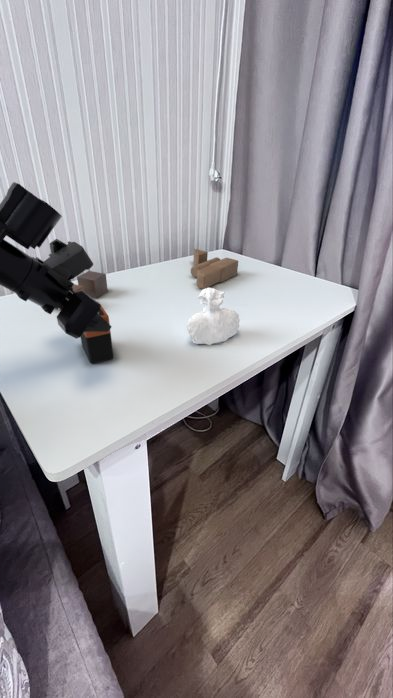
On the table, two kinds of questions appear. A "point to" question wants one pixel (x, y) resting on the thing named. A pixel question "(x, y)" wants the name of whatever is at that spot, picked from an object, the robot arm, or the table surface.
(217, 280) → the wooden block set
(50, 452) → the table surface
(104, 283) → the line block far
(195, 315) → the bust
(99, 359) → the battery
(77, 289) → the line block near
